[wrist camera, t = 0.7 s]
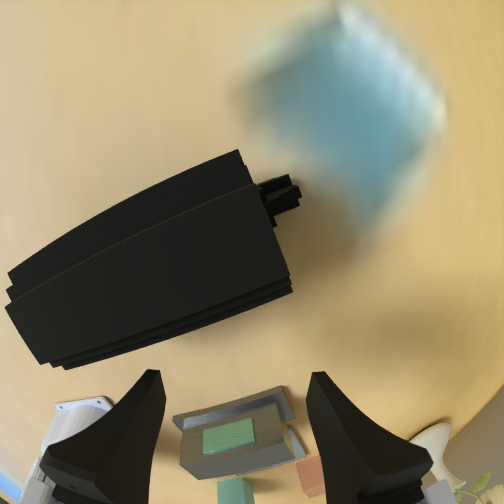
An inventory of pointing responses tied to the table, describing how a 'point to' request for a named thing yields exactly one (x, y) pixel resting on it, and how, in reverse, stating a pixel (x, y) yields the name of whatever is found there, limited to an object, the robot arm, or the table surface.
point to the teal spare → (235, 492)
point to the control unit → (236, 435)
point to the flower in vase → (435, 440)
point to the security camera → (155, 266)
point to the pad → (297, 450)
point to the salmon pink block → (311, 476)
